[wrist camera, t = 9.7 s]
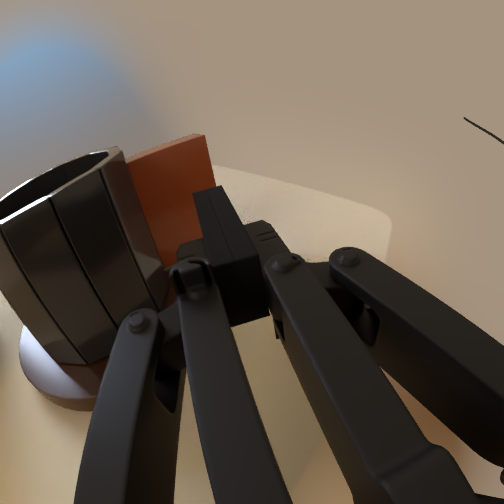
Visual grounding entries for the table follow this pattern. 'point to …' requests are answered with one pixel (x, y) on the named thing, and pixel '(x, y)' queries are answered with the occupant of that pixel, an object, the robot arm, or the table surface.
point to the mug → (98, 242)
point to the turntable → (68, 370)
